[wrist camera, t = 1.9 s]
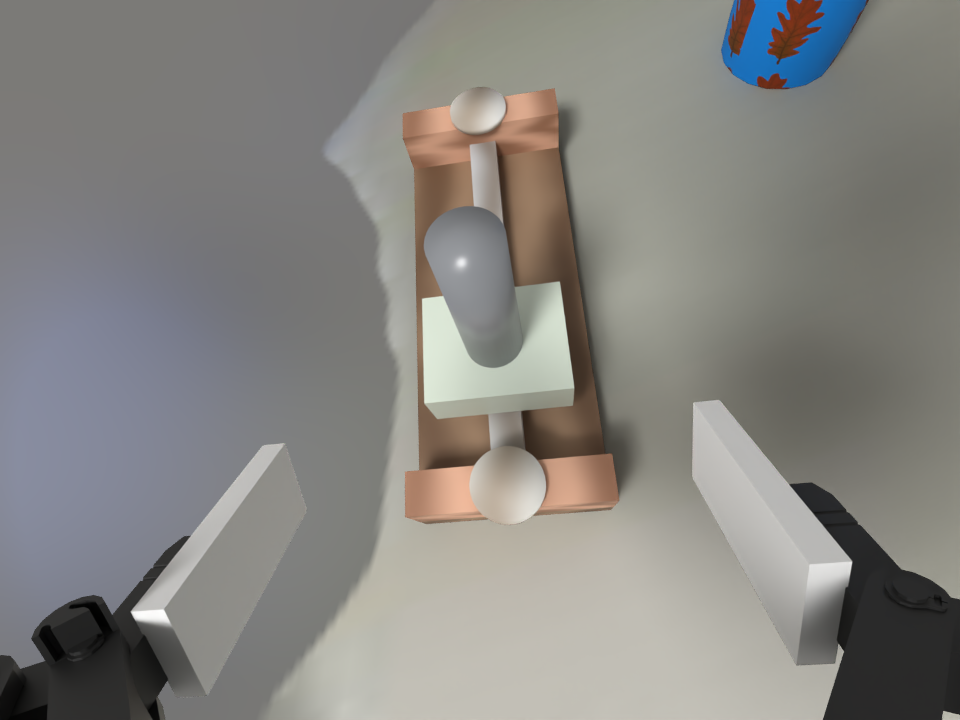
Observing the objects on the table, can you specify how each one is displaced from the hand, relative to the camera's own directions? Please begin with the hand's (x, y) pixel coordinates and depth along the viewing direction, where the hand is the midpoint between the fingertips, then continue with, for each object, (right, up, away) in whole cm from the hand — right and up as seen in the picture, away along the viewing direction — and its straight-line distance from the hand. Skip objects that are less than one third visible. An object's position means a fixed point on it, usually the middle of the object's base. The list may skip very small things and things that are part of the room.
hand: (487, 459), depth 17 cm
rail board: (+1, +8, +29) cm, 30 cm away
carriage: (+1, +3, +23) cm, 23 cm away
